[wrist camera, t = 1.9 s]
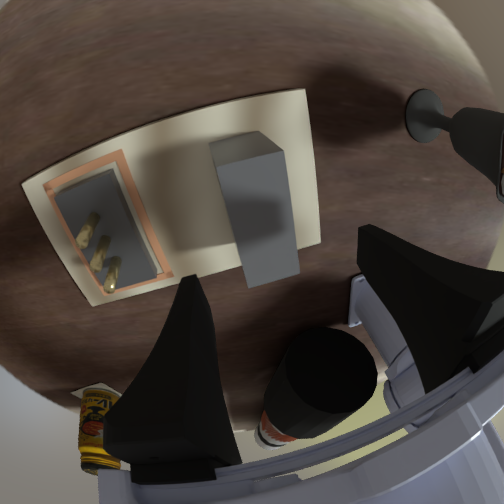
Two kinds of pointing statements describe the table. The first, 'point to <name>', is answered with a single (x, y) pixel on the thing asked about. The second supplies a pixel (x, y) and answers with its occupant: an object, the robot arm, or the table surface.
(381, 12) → the table surface
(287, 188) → the block
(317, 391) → the striped banded cylinder
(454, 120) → the sundae
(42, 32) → the table surface
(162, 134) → the board
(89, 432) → the condiment
